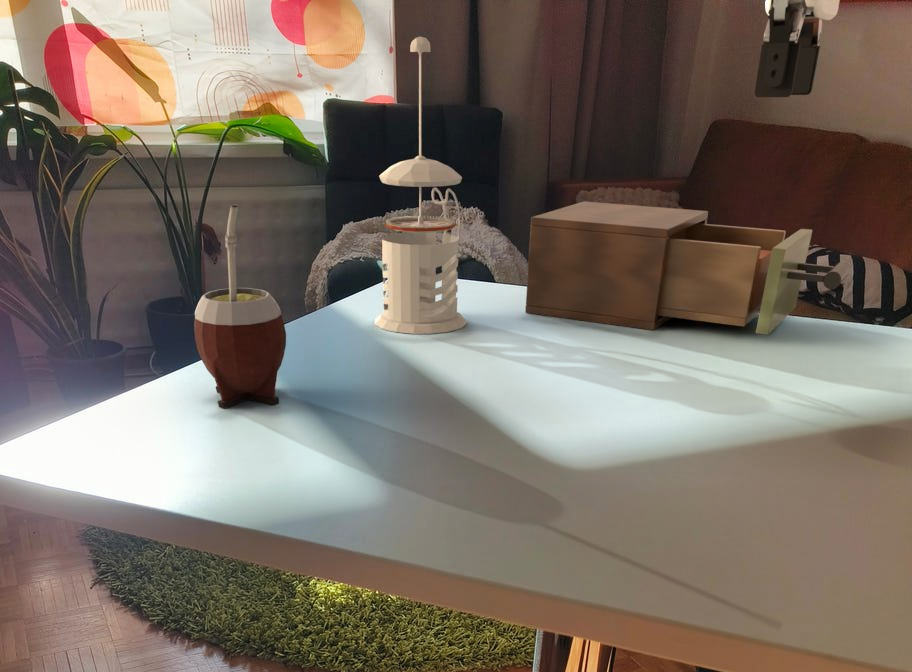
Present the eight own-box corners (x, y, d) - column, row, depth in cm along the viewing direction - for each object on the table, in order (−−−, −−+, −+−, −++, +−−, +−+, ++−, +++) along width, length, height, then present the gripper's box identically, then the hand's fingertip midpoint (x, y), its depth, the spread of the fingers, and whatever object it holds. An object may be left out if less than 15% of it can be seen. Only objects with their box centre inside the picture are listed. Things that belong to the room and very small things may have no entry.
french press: (355, 325, 93) (344, 35, 79) (413, 304, 101) (412, 38, 87) (437, 338, 88) (440, 34, 75) (490, 315, 97) (502, 38, 83)
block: (762, 301, 94) (772, 250, 92) (751, 311, 91) (761, 258, 88) (715, 295, 96) (723, 246, 94) (702, 305, 93) (711, 253, 90)
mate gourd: (243, 379, 77) (221, 185, 69) (316, 394, 74) (302, 192, 65) (181, 403, 72) (149, 196, 63) (256, 420, 68) (233, 204, 60)
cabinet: (693, 302, 102) (708, 211, 97) (653, 330, 92) (667, 229, 87) (575, 288, 109) (583, 201, 103) (525, 312, 98) (530, 217, 93)
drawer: (844, 313, 95) (863, 233, 91) (821, 341, 85) (842, 254, 81) (674, 293, 102) (685, 219, 98) (635, 317, 93) (645, 236, 88)
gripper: (857, -169, 67) (808, 98, 76) (885, -131, 80) (839, 94, 89) (755, -157, 70) (720, 98, 79) (797, -122, 83) (762, 94, 92)
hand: (783, 95), depth 84 cm, fingers open, 9 cm apart
